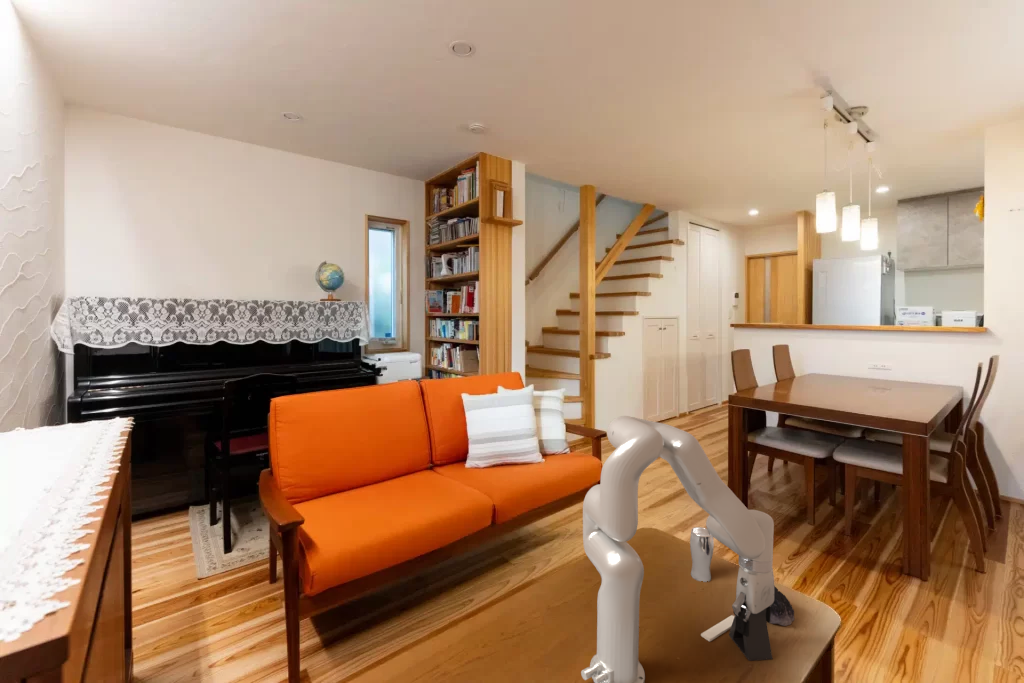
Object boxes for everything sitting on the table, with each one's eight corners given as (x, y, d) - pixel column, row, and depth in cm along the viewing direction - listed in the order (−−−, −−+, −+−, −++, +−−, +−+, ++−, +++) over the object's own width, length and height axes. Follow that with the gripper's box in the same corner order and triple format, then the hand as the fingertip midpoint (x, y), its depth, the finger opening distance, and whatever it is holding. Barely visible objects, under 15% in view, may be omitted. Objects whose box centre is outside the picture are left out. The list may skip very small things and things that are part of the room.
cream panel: (709, 641, 116) (709, 639, 116) (700, 635, 118) (701, 633, 118) (740, 622, 123) (740, 620, 123) (731, 616, 125) (731, 614, 125)
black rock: (772, 597, 135) (768, 564, 135) (809, 623, 122) (806, 587, 122) (733, 606, 133) (729, 572, 133) (767, 634, 119) (763, 596, 120)
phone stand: (772, 660, 110) (774, 613, 109) (749, 661, 109) (750, 614, 108) (750, 634, 119) (751, 590, 118) (728, 635, 118) (730, 591, 117)
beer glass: (690, 580, 142) (691, 535, 142) (688, 568, 149) (689, 525, 148) (714, 584, 140) (715, 538, 139) (711, 572, 147) (712, 528, 146)
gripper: (750, 579, 105) (748, 648, 106) (788, 558, 114) (786, 622, 115) (721, 564, 111) (719, 630, 112) (759, 545, 121) (757, 606, 122)
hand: (753, 626), depth 114 cm, fingers open, 9 cm apart
